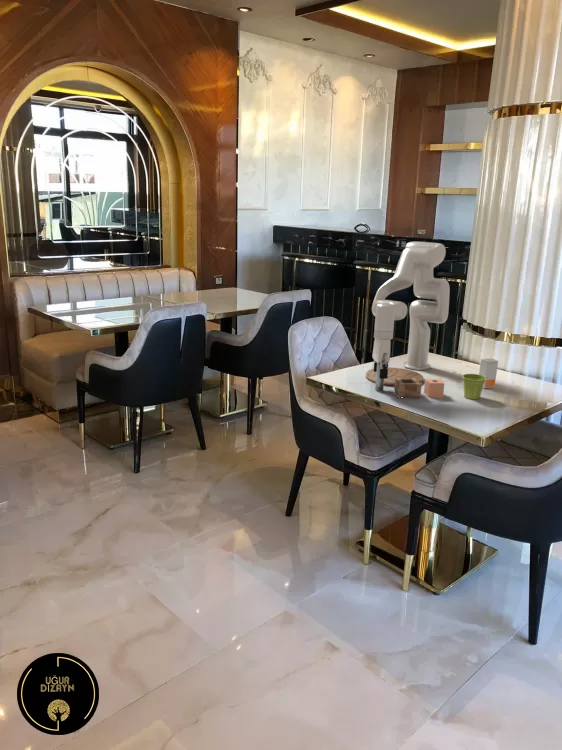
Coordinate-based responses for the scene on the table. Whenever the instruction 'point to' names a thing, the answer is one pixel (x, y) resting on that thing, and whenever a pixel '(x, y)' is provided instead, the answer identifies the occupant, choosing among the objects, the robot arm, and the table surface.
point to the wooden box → (407, 387)
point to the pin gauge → (379, 382)
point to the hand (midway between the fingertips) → (380, 374)
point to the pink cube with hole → (434, 388)
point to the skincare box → (489, 371)
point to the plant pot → (473, 385)
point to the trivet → (394, 375)
